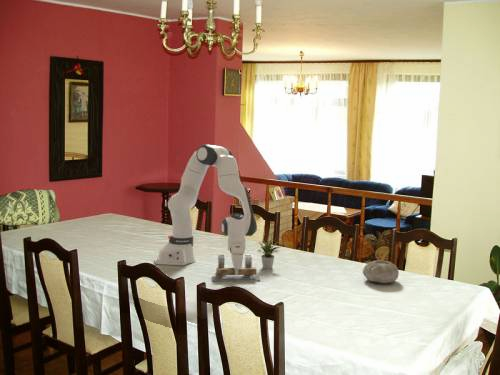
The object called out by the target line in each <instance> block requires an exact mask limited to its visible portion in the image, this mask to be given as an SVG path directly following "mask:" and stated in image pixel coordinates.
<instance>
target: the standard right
mask: <svg viewBox="0 0 500 375" xmlns="http://www.w3.org/2000/svg"><path fill="white" fill-rule="evenodd" d="M252 263H253V257H252V254H251V253H250V254H249V253H247V254H246V253H244V268H248V267H253V264H252ZM243 276H255V275H243Z"/></svg>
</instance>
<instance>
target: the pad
mask: <svg viewBox="0 0 500 375" xmlns="http://www.w3.org/2000/svg"><path fill="white" fill-rule="evenodd" d="M211 281H212V283H213V282H214V283H215V282H224V283H225V282H260V281H261V278H260V275H254V276H244V275H226V276H215V275H213V276H211Z"/></svg>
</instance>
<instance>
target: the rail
mask: <svg viewBox="0 0 500 375" xmlns="http://www.w3.org/2000/svg"><path fill="white" fill-rule="evenodd" d="M215 268H216V271H215V275H226V276H236V275H235V269H234V267H224V268H218V267H215ZM244 275H254V276H257V268H256V267H253V266H252V267H248V268H245V267H242V268H241V269H239V271H238V275H237V276H244Z"/></svg>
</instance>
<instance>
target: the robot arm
mask: <svg viewBox="0 0 500 375" xmlns="http://www.w3.org/2000/svg"><path fill="white" fill-rule="evenodd" d="M210 166H211V167H215V168H216V170H217V181H218V182H217V184H218V186H219V189H220V190H221V191H222V192H223V193H225V194H227V195H230V196H232V197H235V198H236V199H238V200H239V201H240V203H241V207H242V210H243V214H242V213H239V212H236V213H230V214H229V217H225V218H223V219H222V220H221V222H220V231H221V233H222V234H223V236H226V237H227V238H228V239H227V251H229V253H230V254H231V255H230V256H231V257H230V258H231V263H232V266H233V268H234V269H235V275H234V276H239V275H238V271H239V269H241V268H243V261H244V260H243V259H244V255H245V250H246V237H252V236H253V235H254V234H255V233H257V230H258V225H257V220H256V218H255V215H254V211H253V207H252V203H251V198H250V195H249V191H248V189H247V187H246V186H245V185H244V184H242V182H241V178H240V172H239V166H238V162H237V159H236V158H235V157H234V155H233V152H232V151H231V150H230V148H227V147H224V146H221V145H217V144H216V145H214V144H203V145H200V146H199V147H198V148H197V150H195V151H194V152H193V154H192V155H191V157H190V158H189V160H188V162H187V164H186V166H185V170H184V171H183V174H182V176H181V178H180V187H179V190H178V191H177V192H176V193H175V194H173V195H171V196H170V198H169V200H168V201H167V207H168V210H169V211H170V216H171V222H172V223H171V224H172V235H171V234H169V235H168V243H166V244H165V245H164V246H162V247H161V248H160V249H159V252H158V255H157V256H156V257H154V264H156V265H165V266H166V265H168V266H169V265H170V266H186V265H189V264H193V263H195V262H196V258H195V252H194V239H195V238H194V235H193V234H194V233H193V232H194V231H193V227H194V226H193V225H194V223H193V220H192V218H191V209H192V208H194V207H195V205H196V203H197V200H198V196H199V192H200V188H201V187H202V183H203V180H204V178H205V176H206V174H207V171H208V169H209V167H210Z"/></svg>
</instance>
